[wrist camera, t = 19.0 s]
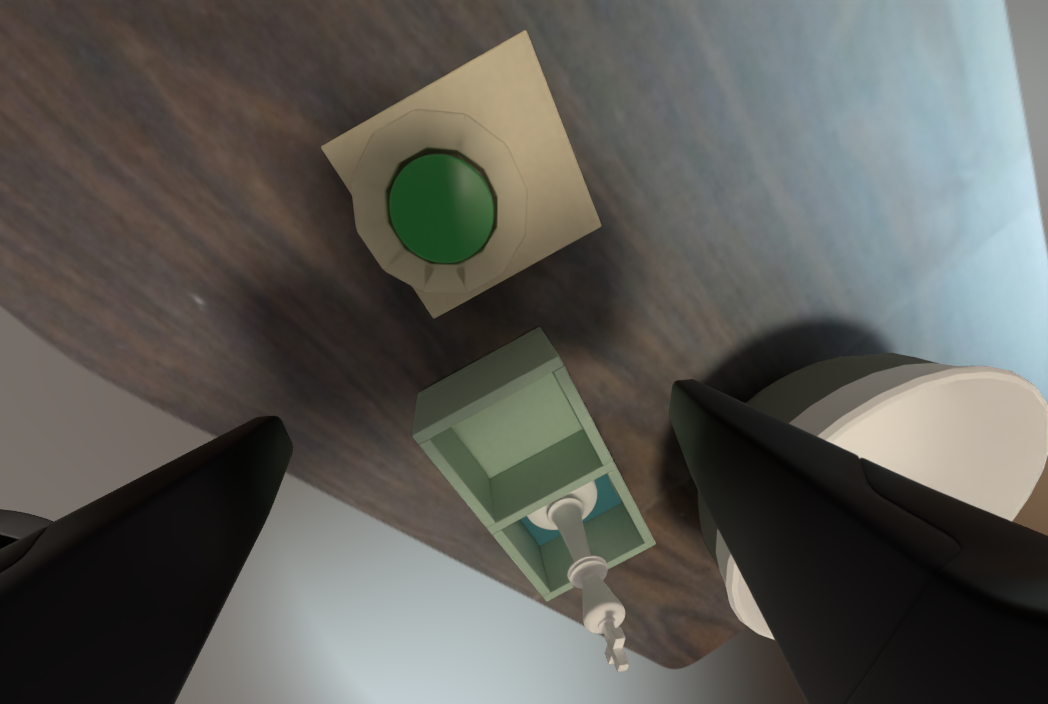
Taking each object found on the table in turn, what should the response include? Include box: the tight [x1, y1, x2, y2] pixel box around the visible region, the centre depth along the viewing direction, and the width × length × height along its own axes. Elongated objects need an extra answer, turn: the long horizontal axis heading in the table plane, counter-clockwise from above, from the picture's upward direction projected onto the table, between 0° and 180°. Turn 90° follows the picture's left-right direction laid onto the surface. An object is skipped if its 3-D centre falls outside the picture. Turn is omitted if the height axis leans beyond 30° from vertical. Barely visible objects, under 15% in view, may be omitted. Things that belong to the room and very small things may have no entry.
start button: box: [389, 154, 494, 263], centre depth 14 cm, size 4×4×2 cm
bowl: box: [698, 353, 1048, 640], centre depth 24 cm, size 19×19×8 cm
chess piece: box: [527, 480, 629, 672], centre depth 20 cm, size 5×5×10 cm
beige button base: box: [321, 30, 601, 318], centre depth 16 cm, size 9×8×4 cm
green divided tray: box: [412, 327, 656, 601], centre depth 22 cm, size 15×8×4 cm, turn 27°
